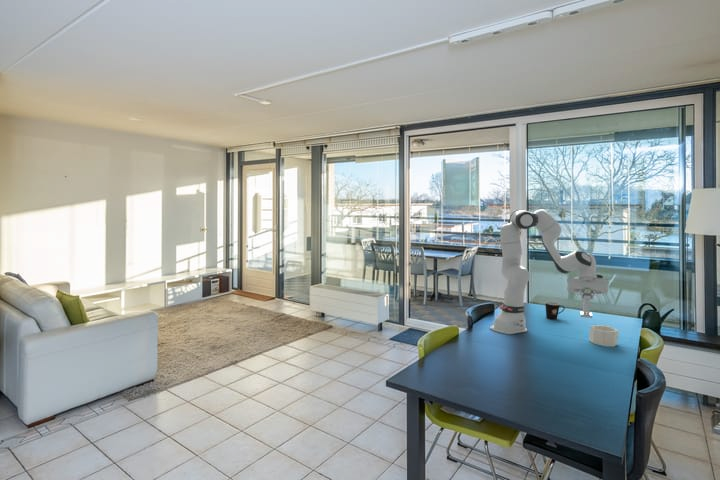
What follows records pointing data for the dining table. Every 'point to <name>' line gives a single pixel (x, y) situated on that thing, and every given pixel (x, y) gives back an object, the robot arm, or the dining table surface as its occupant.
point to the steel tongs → (586, 303)
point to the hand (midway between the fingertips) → (587, 298)
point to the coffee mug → (552, 310)
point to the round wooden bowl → (603, 335)
